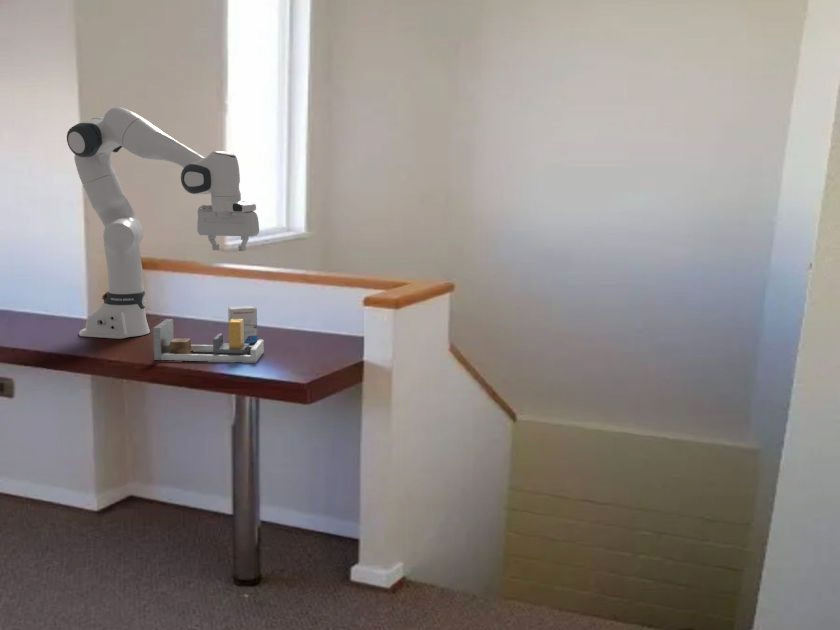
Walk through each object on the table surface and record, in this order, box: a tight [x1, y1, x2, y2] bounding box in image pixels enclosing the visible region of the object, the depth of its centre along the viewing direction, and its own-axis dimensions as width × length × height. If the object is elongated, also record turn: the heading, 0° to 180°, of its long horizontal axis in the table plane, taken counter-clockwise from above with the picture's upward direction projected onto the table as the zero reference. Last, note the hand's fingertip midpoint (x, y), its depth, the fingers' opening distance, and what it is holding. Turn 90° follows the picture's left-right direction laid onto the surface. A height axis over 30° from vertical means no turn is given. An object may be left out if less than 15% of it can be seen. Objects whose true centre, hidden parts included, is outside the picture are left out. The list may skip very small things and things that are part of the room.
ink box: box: [227, 305, 258, 345], centre depth 290 cm, size 9×5×12 cm, turn 112°
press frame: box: [152, 318, 265, 364], centre depth 270 cm, size 30×14×10 cm, turn 90°
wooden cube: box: [170, 337, 192, 354], centre depth 271 cm, size 5×5×5 cm
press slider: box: [212, 319, 250, 355], centre depth 270 cm, size 9×9×11 cm
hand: (228, 250), depth 274 cm, fingers open, 8 cm apart
